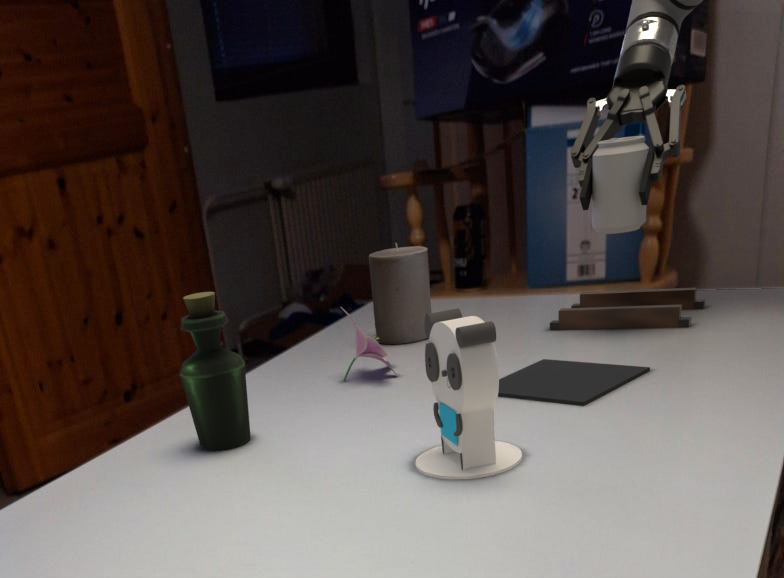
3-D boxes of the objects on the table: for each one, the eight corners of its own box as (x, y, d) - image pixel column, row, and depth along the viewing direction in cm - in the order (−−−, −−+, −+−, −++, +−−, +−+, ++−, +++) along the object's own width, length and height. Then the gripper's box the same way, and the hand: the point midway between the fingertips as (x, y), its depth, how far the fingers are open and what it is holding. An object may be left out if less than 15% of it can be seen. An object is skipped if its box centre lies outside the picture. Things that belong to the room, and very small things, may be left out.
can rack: (705, 306, 147) (706, 287, 146) (688, 327, 137) (690, 306, 136) (573, 311, 157) (573, 292, 156) (549, 330, 147) (549, 310, 146)
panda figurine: (400, 454, 105) (388, 317, 98) (495, 435, 107) (490, 299, 99) (435, 487, 95) (425, 337, 88) (539, 465, 96) (537, 316, 89)
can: (614, 236, 131) (617, 140, 125) (580, 233, 137) (581, 142, 132) (657, 226, 133) (661, 132, 128) (621, 225, 140) (624, 135, 134)
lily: (383, 397, 131) (408, 329, 128) (307, 368, 132) (330, 300, 129) (395, 399, 142) (419, 337, 139) (325, 373, 144) (347, 311, 141)
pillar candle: (364, 344, 157) (355, 249, 150) (398, 330, 163) (390, 238, 156) (412, 345, 151) (404, 247, 144) (445, 331, 157) (439, 236, 150)
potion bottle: (250, 428, 122) (226, 285, 114) (263, 444, 115) (238, 293, 107) (190, 440, 121) (161, 297, 112) (199, 458, 114) (169, 306, 105)
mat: (650, 371, 121) (650, 367, 120) (583, 406, 112) (583, 402, 111) (543, 362, 131) (543, 358, 131) (475, 394, 122) (474, 390, 122)
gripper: (569, 54, 136) (536, 190, 133) (718, 29, 126) (686, 175, 122) (579, 94, 143) (547, 224, 139) (722, 72, 133) (692, 212, 129)
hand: (613, 201), depth 131 cm, fingers closed on can, 7 cm apart
